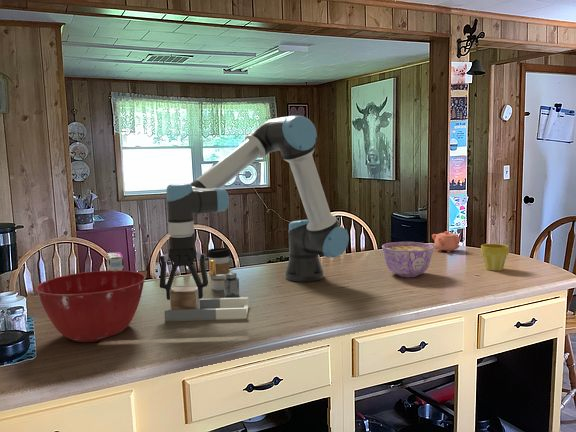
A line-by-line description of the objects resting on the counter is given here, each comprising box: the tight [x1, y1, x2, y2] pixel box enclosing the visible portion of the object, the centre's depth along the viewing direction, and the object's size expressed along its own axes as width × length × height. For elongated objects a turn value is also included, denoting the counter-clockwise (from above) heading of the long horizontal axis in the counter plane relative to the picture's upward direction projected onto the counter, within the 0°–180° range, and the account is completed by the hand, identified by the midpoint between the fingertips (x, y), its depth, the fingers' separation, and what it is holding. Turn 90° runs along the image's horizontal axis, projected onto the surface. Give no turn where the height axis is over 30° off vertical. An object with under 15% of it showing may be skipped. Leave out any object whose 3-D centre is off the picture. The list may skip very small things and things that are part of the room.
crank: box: [208, 260, 238, 280], centre depth 168 cm, size 9×4×6 cm, turn 93°
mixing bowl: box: [35, 270, 146, 343], centre depth 142 cm, size 28×28×15 cm
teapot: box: [431, 230, 461, 254], centre depth 246 cm, size 12×12×10 cm
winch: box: [219, 277, 247, 298], centre depth 169 cm, size 9×9×8 cm
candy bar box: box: [106, 251, 125, 271], centre depth 173 cm, size 11×5×16 cm, turn 23°
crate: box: [170, 284, 197, 310], centre depth 155 cm, size 7×7×8 cm
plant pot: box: [480, 243, 510, 272], centre depth 207 cm, size 10×10×10 cm
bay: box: [164, 296, 250, 322], centre depth 155 cm, size 24×12×4 cm, turn 91°
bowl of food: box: [381, 241, 435, 278], centre depth 201 cm, size 20×20×12 cm
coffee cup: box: [207, 247, 231, 291], centre depth 187 cm, size 8×8×15 cm
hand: (185, 309), depth 155 cm, fingers closed on crate, 7 cm apart
